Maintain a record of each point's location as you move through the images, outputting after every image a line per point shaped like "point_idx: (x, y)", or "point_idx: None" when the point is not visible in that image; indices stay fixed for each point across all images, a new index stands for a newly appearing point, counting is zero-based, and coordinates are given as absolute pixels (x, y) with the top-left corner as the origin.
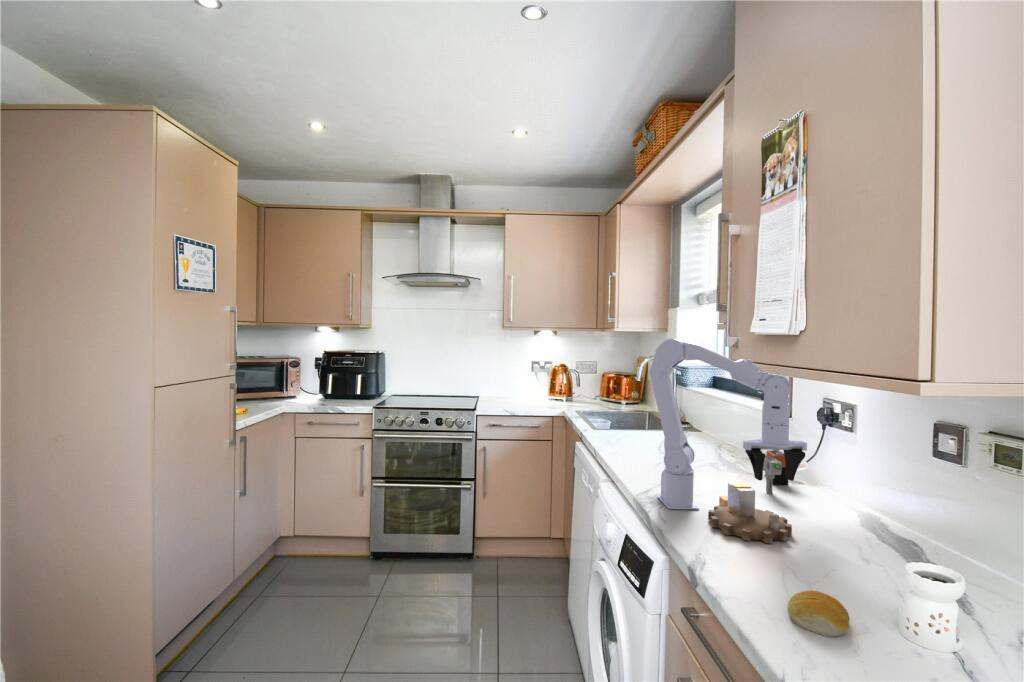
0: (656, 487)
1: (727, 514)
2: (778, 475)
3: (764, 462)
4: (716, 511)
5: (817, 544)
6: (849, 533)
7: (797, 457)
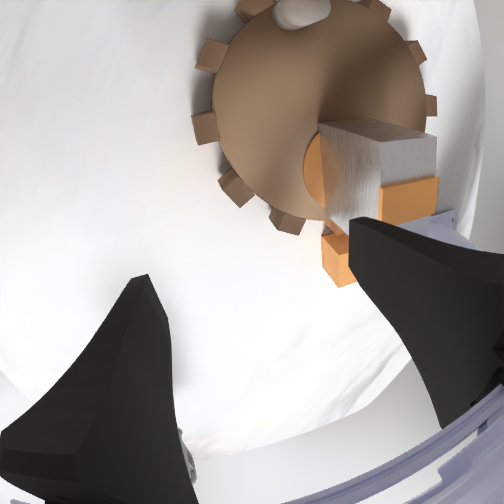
0: None
1: None
2: None
3: (188, 465)
4: None
5: (134, 15)
6: (3, 162)
7: (73, 424)
